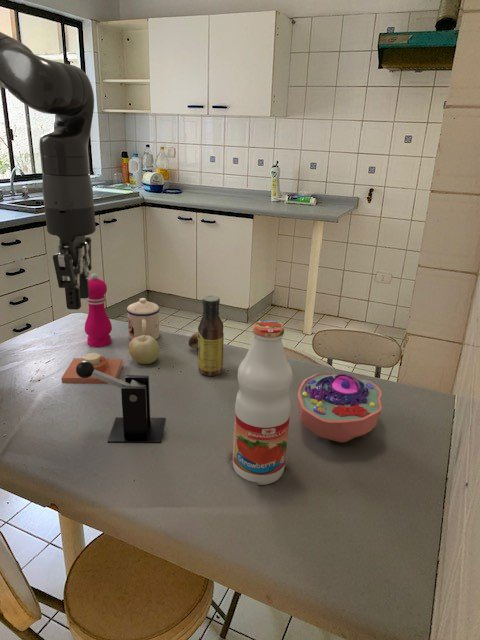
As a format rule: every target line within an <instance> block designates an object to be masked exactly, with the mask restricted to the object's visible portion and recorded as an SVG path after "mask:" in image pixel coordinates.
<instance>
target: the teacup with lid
mask: <svg viewBox="0 0 480 640" xmlns="http://www.w3.org/2000/svg"><path fill="white" fill-rule="evenodd" d="M126 312H127V324H128V328H127V329H128V338H129V340H131V341H132V340H133V339H134V338H136V337H138V336H142V335H145V334H147V335H149V336H151V337H153V338H154V339H155V340H156V341H157V340H158V339H159V337H160V306H159V305H158V304H157V303H155V302H151V301H148V300H147V298H146V297H141V298H140V297H139V300H138V301H136V302H133V303H130V304H129V305H128V306H127V308H126Z"/></svg>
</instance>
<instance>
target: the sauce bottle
mask: <svg viewBox="0 0 480 640" xmlns="http://www.w3.org/2000/svg"><path fill="white" fill-rule="evenodd" d="M220 301H221V299H220V297H219V296H218V295H214V294H209V295H205V296H203V297H202V301H201V302H202V303H201V304H202V316H201V319H200V321H199V324H198V326H197V332H198V349H197V366H198V371H199V373H200V374H202V375H204V376H207V377H216V376H218V375H219V374H221V373H222V372H223V366H224V343H225V342H224V335H225V334H224V322H223V320H222V319H221V317H220V303H221V302H220Z"/></svg>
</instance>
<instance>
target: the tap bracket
mask: <svg viewBox="0 0 480 640" xmlns="http://www.w3.org/2000/svg"><path fill="white" fill-rule="evenodd" d="M132 380H135V381H137V382H140V383H142V384H144V385H146V386H122V387H121V388H120V393H121V411H122V416H121V417H120V416H119V417H118V416H117V417H115V419H114V422H113V425H112V427H111V431H110V433H109V436H108V439H107V443H108V444H162V441H163V435H164V428H165V424H166V417H151V395H150V393H151V392H150V391H151V390H150V375H146V374H145V375H137V374H136V375H135V374H126V375H125V377H124V381H125V382H127V383H129V384H130V383H131V381H132Z"/></svg>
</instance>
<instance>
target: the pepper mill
mask: <svg viewBox="0 0 480 640" xmlns="http://www.w3.org/2000/svg"><path fill="white" fill-rule="evenodd" d="M88 285H89V297H88V298H86V304H88V312H87V317H86V320H85V323H84V333H85V334H86V335H87V337H86V339H87V341H86V342H87V345H88V346H90V347H93V348H102V347H106V346H108V345H110V344H111V343H112V336H111V333H112V331H113V325H112V321H111V319H110V318H109V316H108V314H107V311H106V308H105V303H106V301H107V297H106V294H107V291H108V286H107V284H106V282H105V281H104V280H103V279H100V278H99V276H98V274H97V273H95V272H93V273H92V274H91V275H90V279H88Z"/></svg>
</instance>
